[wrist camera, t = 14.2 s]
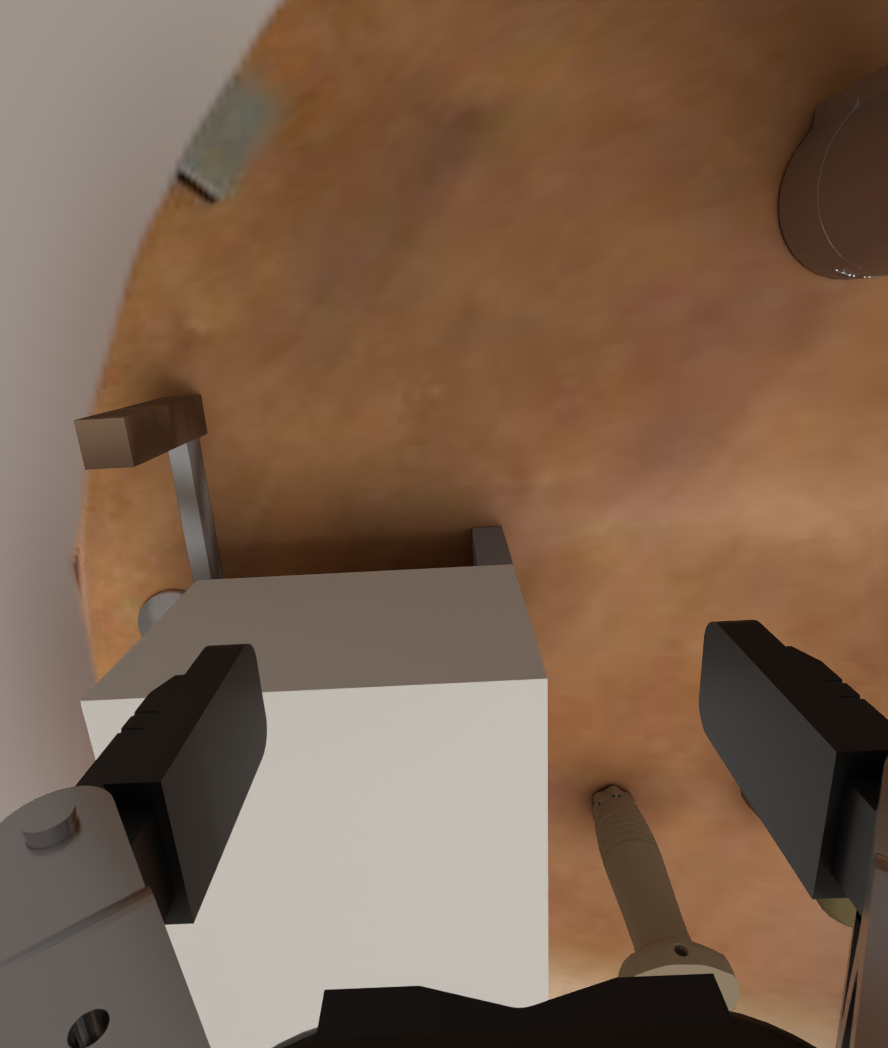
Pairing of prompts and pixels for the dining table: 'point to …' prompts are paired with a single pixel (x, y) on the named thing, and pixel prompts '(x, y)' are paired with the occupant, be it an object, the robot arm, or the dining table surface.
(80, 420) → the blade tool
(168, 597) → the ball
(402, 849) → the cabinet
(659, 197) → the dining table surface
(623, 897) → the handle
